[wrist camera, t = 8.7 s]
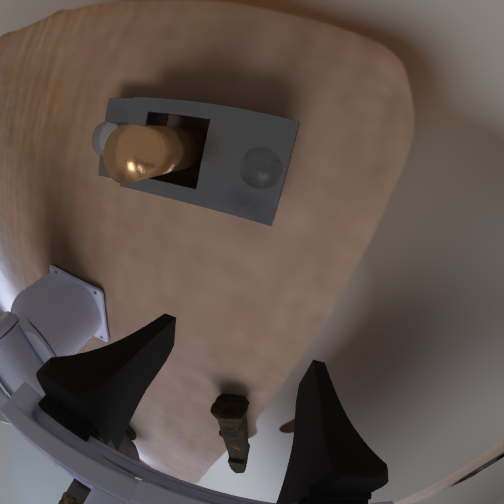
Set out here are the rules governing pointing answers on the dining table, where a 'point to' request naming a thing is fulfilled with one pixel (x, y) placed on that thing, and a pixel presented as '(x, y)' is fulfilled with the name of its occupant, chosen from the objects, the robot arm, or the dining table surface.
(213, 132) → the grey plate with knobs
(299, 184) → the dining table surface
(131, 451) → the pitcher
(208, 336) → the dining table surface
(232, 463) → the hand tool
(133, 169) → the copper pin
